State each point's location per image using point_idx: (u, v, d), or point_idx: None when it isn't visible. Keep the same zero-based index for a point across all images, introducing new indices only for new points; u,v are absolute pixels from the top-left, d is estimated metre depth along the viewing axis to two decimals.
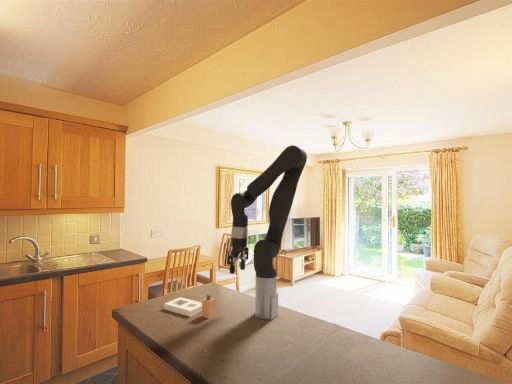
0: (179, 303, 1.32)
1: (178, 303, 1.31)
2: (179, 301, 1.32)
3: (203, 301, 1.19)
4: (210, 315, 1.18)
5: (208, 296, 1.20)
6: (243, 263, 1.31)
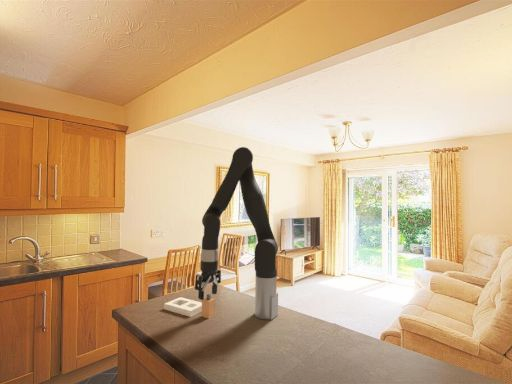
0: (179, 303, 1.32)
1: (178, 303, 1.31)
2: (179, 301, 1.32)
3: (203, 301, 1.19)
4: (210, 315, 1.18)
5: (208, 296, 1.20)
6: (215, 287, 1.24)
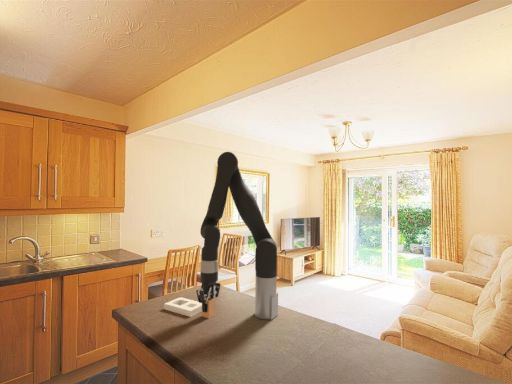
0: (179, 303, 1.32)
1: (178, 303, 1.31)
2: (179, 301, 1.32)
3: None
4: (210, 315, 1.18)
5: None
6: None
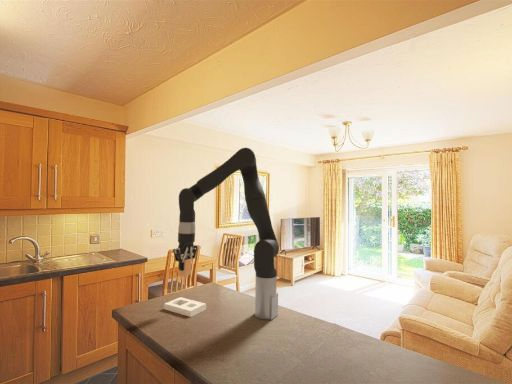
0: (179, 303, 1.32)
1: (178, 303, 1.31)
2: (179, 301, 1.32)
3: None
4: (186, 273, 1.26)
5: None
6: None
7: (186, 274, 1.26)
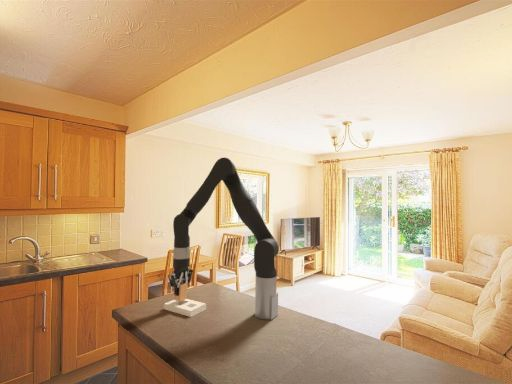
0: (179, 303, 1.32)
1: (178, 303, 1.31)
2: (179, 301, 1.32)
3: None
4: (181, 298, 1.27)
5: None
6: None
7: (181, 299, 1.27)
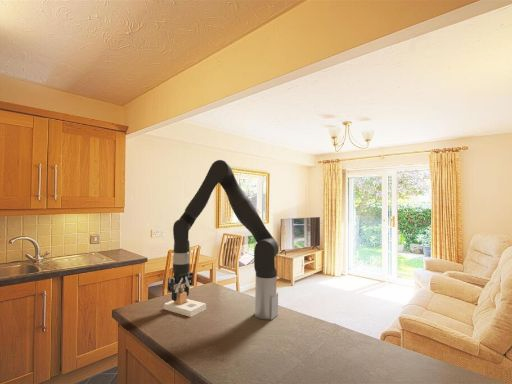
0: None
1: None
2: None
3: None
4: None
5: (180, 289, 1.28)
6: (186, 289, 1.31)
7: None
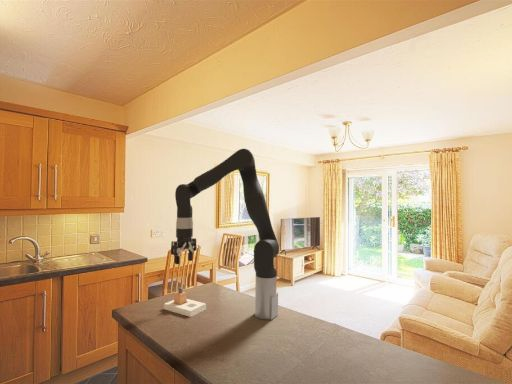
0: None
1: None
2: None
3: (175, 294, 1.27)
4: None
5: (180, 289, 1.28)
6: (190, 254, 1.33)
7: None
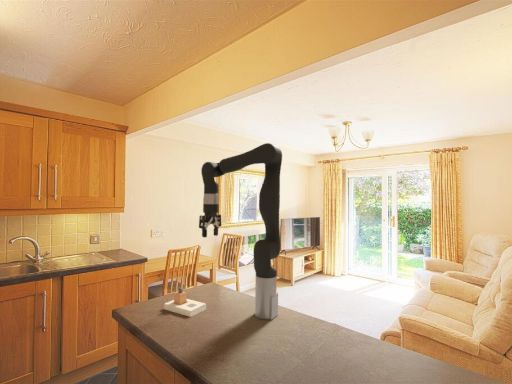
0: None
1: None
2: None
3: (175, 294, 1.27)
4: None
5: (180, 289, 1.28)
6: (216, 229, 1.39)
7: None
